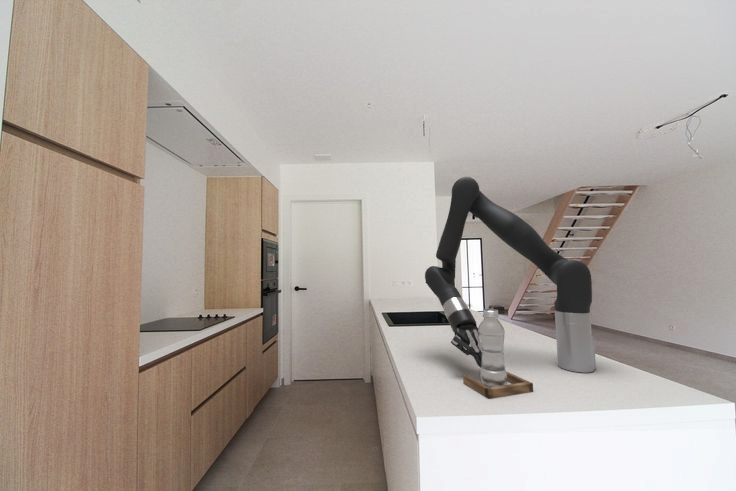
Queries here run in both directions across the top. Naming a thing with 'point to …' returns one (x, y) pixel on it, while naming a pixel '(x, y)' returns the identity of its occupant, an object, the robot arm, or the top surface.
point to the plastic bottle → (492, 350)
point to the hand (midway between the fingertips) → (485, 367)
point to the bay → (499, 391)
